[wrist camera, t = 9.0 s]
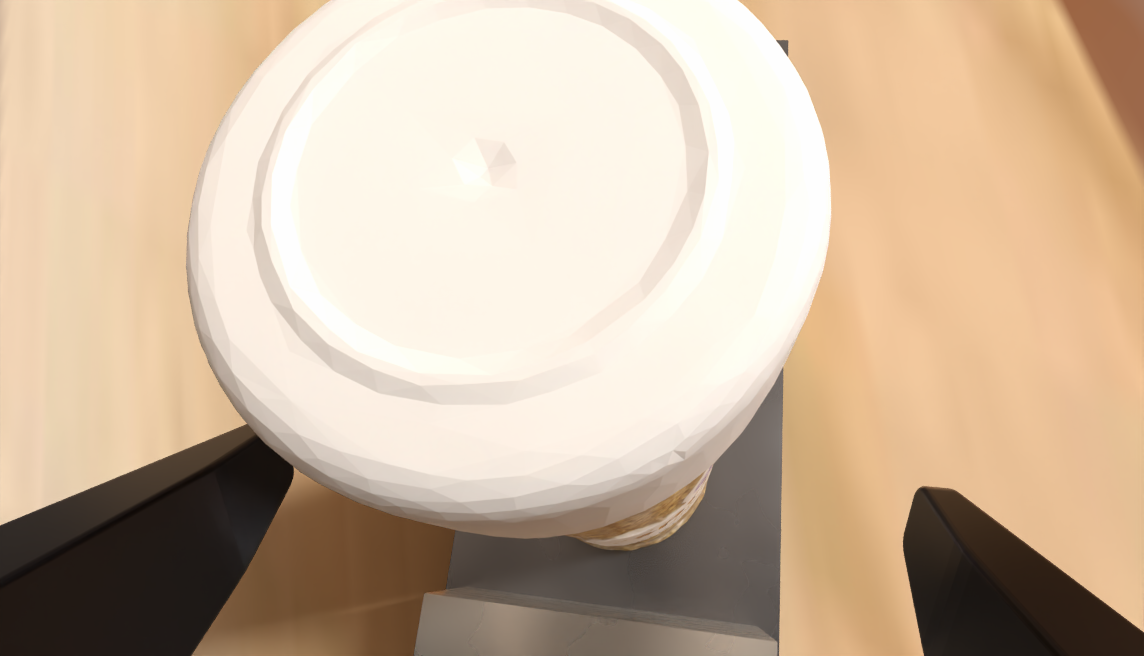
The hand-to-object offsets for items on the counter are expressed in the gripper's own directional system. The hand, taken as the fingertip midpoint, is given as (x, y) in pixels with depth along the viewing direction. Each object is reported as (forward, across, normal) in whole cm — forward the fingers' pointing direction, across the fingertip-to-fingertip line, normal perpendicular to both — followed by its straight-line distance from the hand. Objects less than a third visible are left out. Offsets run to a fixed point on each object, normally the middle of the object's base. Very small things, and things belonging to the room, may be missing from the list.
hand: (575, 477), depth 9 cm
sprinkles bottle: (+6, 0, +4) cm, 8 cm away
